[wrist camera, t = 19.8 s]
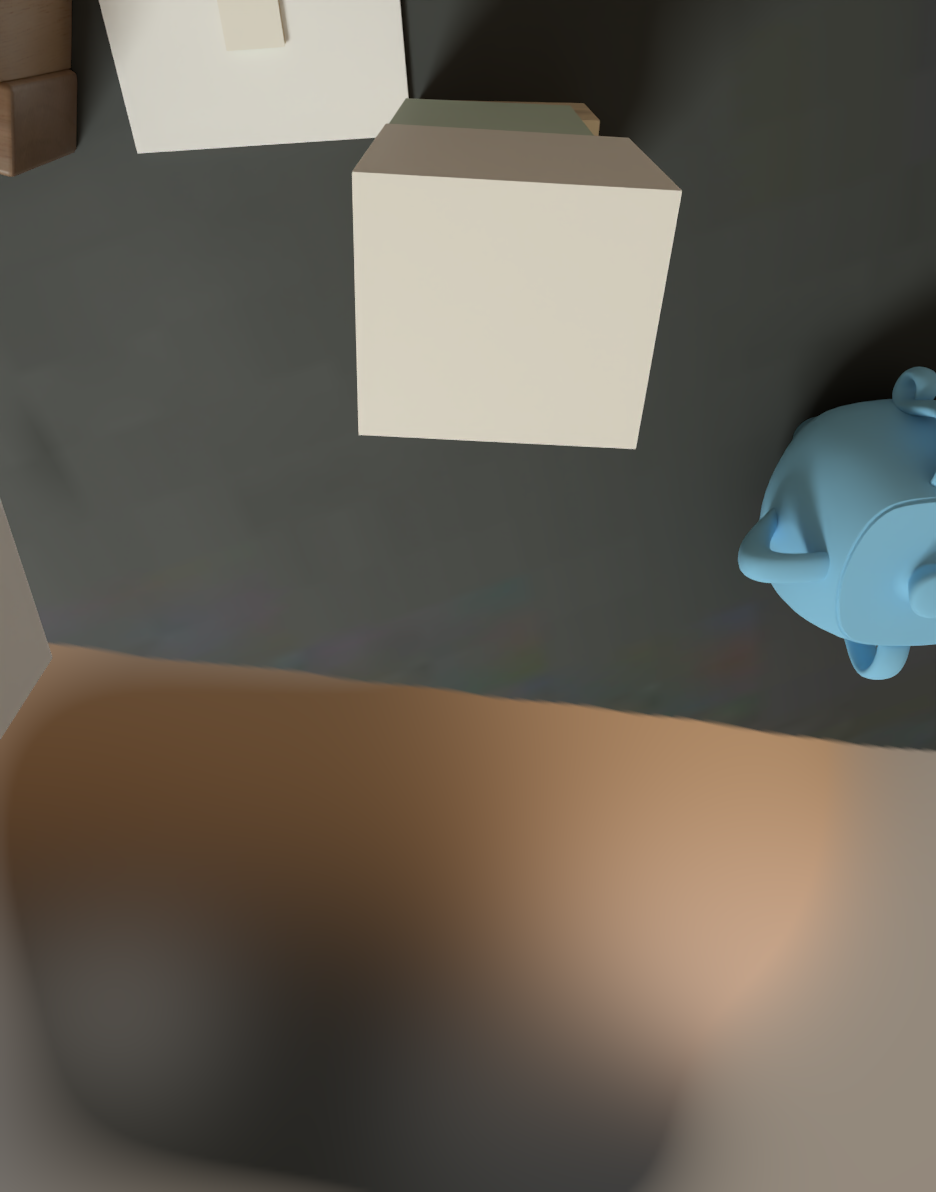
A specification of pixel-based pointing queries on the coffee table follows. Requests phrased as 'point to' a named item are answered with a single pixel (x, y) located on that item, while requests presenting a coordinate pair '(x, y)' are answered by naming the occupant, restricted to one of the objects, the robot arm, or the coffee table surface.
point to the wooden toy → (36, 84)
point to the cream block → (507, 284)
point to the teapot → (857, 525)
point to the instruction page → (256, 70)
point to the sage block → (491, 116)
